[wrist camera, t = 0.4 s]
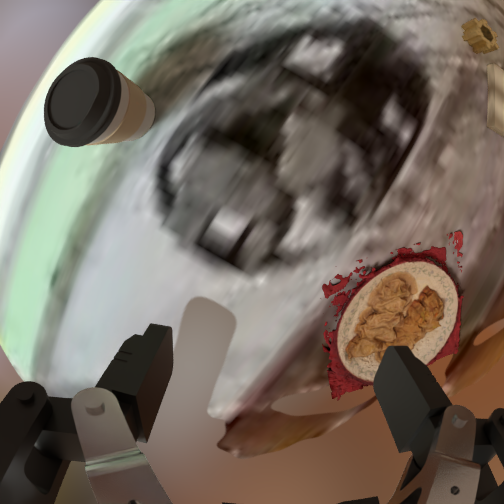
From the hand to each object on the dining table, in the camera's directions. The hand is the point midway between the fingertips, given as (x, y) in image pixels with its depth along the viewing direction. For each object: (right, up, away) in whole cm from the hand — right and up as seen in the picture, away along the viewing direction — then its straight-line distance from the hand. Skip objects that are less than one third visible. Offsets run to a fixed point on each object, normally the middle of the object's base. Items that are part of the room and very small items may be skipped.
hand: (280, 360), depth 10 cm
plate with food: (+22, -7, +32) cm, 39 cm away
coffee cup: (-17, +22, +23) cm, 36 cm away
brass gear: (+36, +39, +17) cm, 56 cm away
